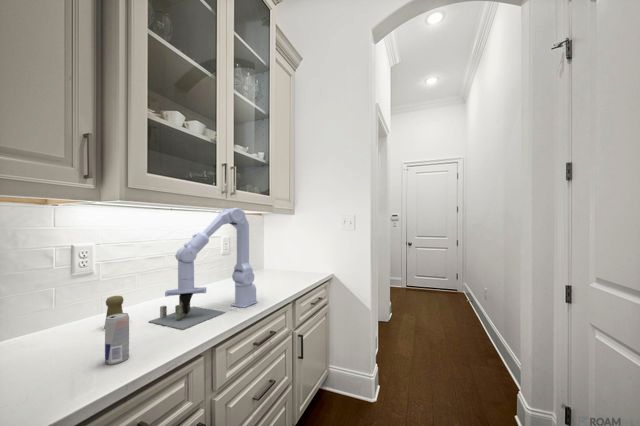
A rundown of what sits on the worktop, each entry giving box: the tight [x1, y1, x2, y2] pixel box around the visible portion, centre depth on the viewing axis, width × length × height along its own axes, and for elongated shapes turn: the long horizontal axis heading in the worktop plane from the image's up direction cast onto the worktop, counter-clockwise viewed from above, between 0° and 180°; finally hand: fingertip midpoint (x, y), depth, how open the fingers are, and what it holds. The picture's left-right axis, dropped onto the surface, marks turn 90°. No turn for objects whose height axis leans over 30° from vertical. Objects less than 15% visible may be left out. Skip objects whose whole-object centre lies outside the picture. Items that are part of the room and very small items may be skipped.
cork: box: [103, 295, 124, 329], centre depth 101 cm, size 6×6×11 cm
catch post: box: [159, 305, 168, 319], centre depth 109 cm, size 2×2×5 cm
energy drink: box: [104, 312, 130, 365], centre depth 77 cm, size 5×5×12 cm
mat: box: [148, 306, 226, 331], centre depth 110 cm, size 20×19×1 cm
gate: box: [174, 302, 191, 320], centre depth 111 cm, size 2×12×5 cm, turn 8°
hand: (186, 313), depth 109 cm, fingers closed
